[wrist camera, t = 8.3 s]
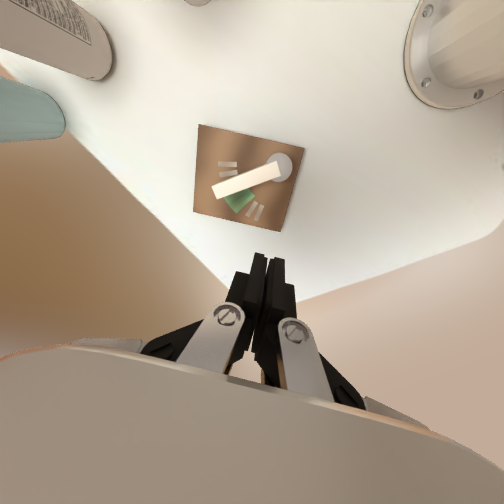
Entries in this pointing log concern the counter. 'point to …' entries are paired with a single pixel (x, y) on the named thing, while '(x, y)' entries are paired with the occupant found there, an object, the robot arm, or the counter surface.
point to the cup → (27, 113)
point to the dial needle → (256, 176)
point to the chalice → (197, 2)
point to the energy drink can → (56, 36)
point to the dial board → (234, 163)
